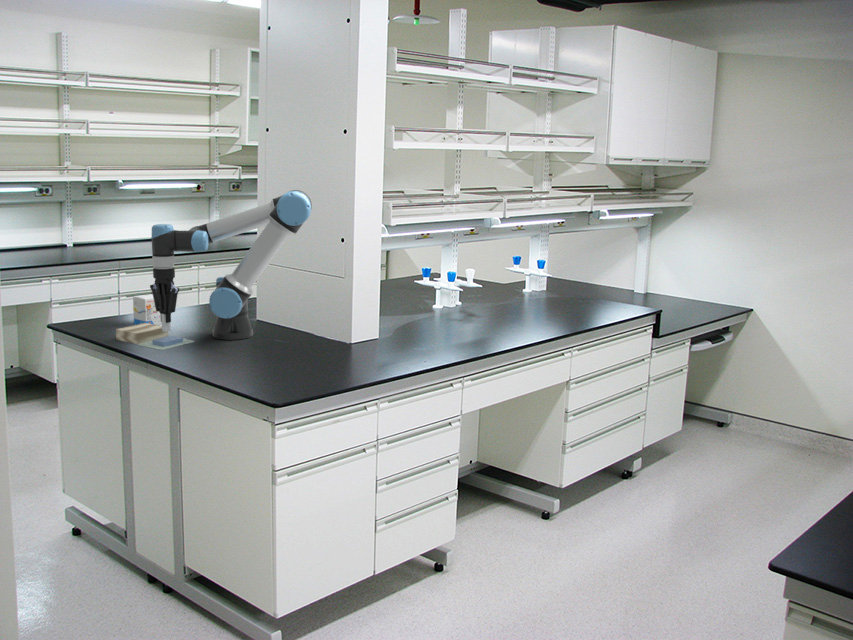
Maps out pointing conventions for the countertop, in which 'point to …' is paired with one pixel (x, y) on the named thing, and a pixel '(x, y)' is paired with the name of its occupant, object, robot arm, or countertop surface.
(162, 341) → the blue flat block
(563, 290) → the countertop surface
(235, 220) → the robot arm
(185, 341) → the mat
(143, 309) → the ink box
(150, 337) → the beige flat block
